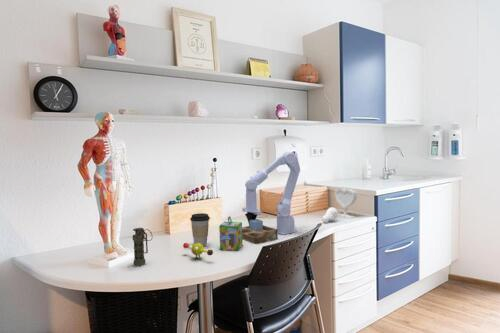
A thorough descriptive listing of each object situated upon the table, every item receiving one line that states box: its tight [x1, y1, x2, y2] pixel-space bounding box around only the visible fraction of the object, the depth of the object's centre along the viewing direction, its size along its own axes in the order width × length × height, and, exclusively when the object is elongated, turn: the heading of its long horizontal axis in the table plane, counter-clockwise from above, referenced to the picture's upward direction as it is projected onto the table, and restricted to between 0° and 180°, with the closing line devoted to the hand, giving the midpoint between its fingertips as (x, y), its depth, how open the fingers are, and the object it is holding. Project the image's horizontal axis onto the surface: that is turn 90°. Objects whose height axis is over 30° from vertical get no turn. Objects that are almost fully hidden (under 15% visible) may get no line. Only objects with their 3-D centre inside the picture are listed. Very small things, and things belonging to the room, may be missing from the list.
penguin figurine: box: [321, 206, 339, 224], centre depth 210 cm, size 6×8×12 cm
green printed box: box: [218, 215, 243, 251], centre depth 162 cm, size 9×9×15 cm
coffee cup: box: [189, 212, 211, 248], centre depth 166 cm, size 9×9×15 cm
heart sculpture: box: [334, 187, 358, 219], centre depth 227 cm, size 16×5×18 cm, turn 34°
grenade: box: [132, 227, 153, 267], centre depth 141 cm, size 9×6×15 cm, turn 132°
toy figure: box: [182, 242, 214, 260], centre depth 147 cm, size 18×6×7 cm, turn 50°
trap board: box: [242, 224, 279, 245], centre depth 180 cm, size 14×22×5 cm, turn 36°
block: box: [250, 218, 264, 231], centre depth 182 cm, size 5×5×5 cm
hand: (251, 226), depth 186 cm, fingers closed
